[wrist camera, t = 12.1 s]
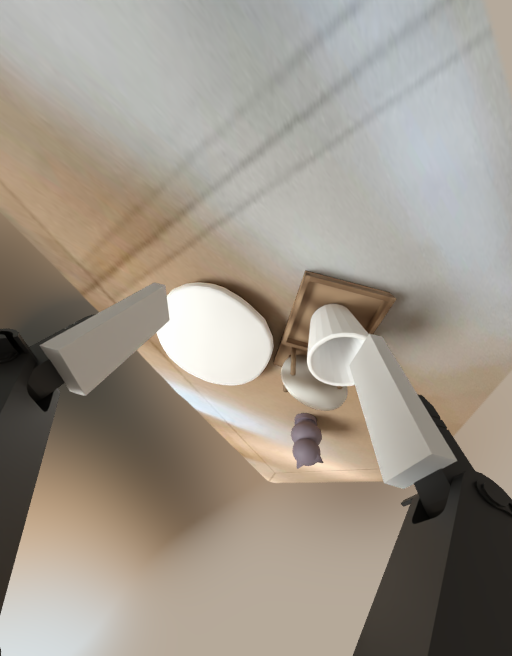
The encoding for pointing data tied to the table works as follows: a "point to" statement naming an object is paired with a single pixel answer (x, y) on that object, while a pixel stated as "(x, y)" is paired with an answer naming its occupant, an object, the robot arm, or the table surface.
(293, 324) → the rack
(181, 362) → the plate
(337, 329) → the cup
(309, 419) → the cat figurine
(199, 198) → the table surface
